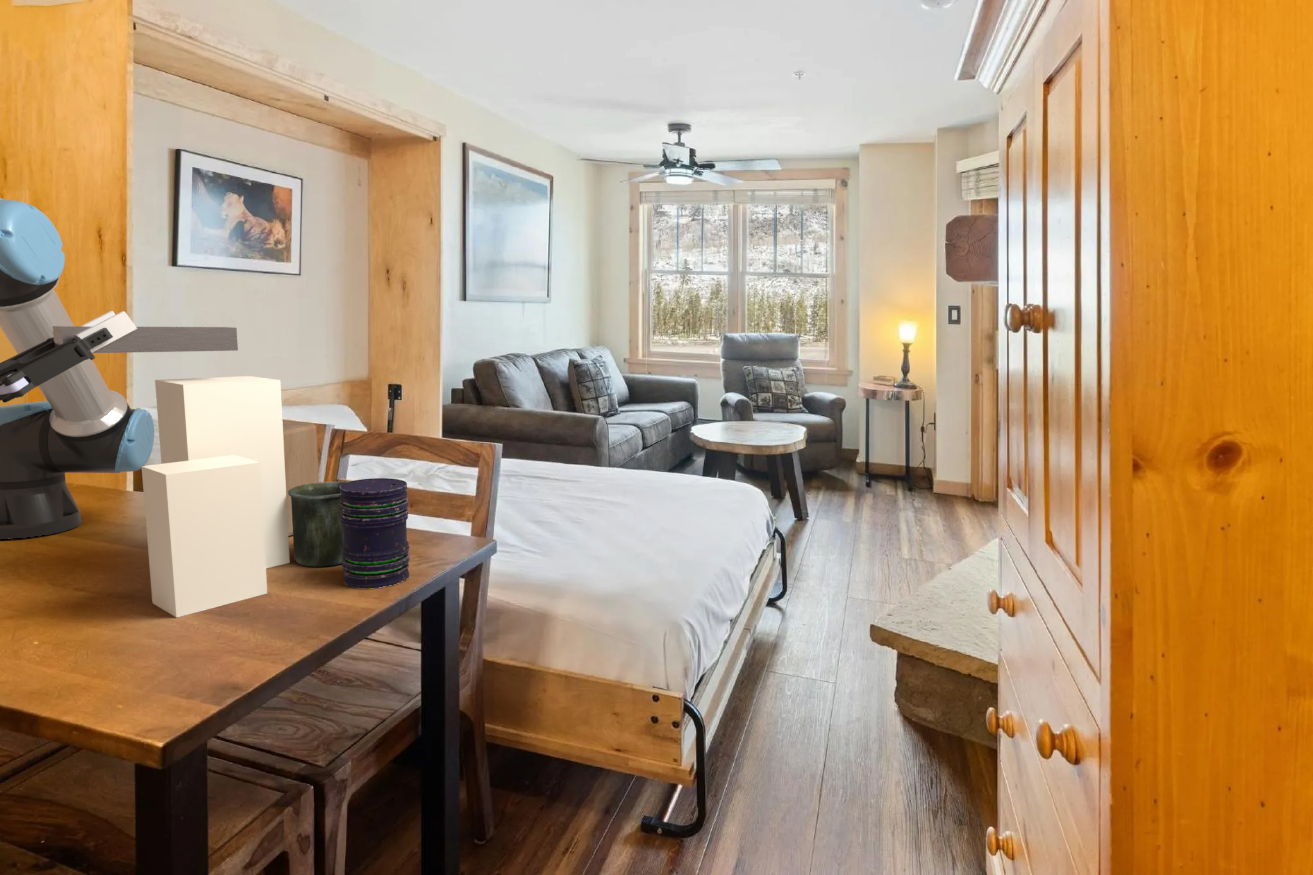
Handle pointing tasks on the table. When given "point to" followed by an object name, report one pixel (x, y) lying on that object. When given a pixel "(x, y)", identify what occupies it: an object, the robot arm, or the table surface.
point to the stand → (231, 437)
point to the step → (204, 533)
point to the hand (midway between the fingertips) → (123, 319)
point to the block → (299, 459)
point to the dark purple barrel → (374, 532)
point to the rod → (160, 339)
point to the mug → (317, 524)
